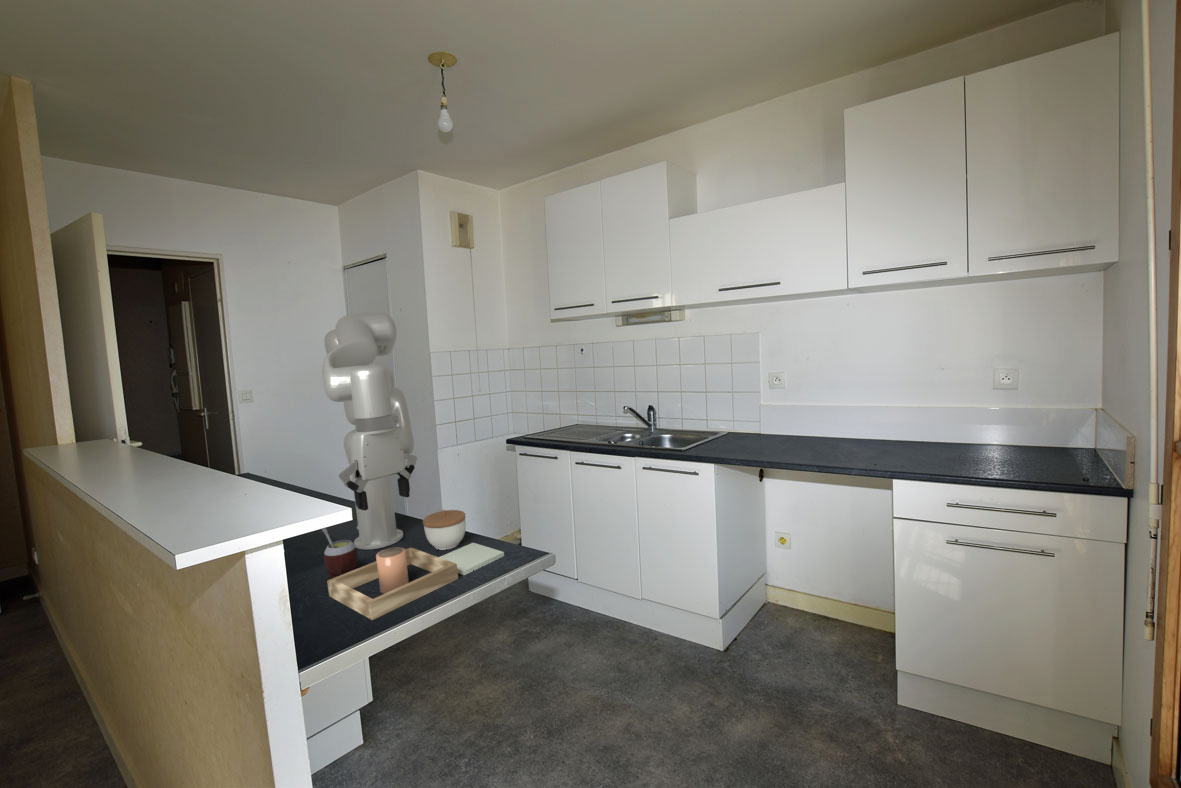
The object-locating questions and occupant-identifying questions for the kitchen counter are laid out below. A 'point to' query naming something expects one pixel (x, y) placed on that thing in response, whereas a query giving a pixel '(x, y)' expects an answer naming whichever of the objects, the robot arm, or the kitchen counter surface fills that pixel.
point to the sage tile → (472, 557)
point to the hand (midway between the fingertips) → (384, 502)
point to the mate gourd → (340, 557)
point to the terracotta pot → (392, 569)
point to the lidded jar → (445, 528)
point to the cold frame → (398, 597)
